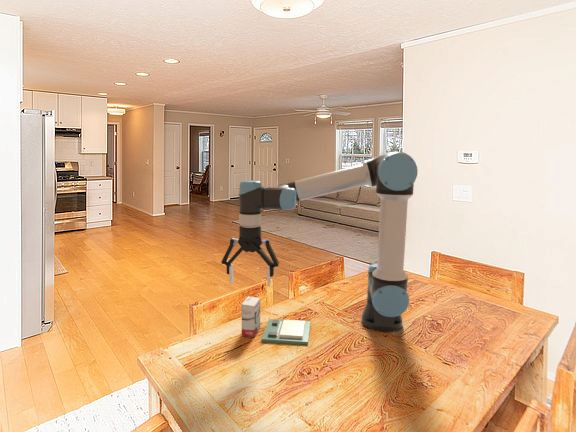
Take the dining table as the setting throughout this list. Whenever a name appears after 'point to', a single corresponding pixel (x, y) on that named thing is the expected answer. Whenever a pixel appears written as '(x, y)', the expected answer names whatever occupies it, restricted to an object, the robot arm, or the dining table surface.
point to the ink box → (250, 316)
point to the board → (287, 331)
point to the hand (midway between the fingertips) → (250, 284)
